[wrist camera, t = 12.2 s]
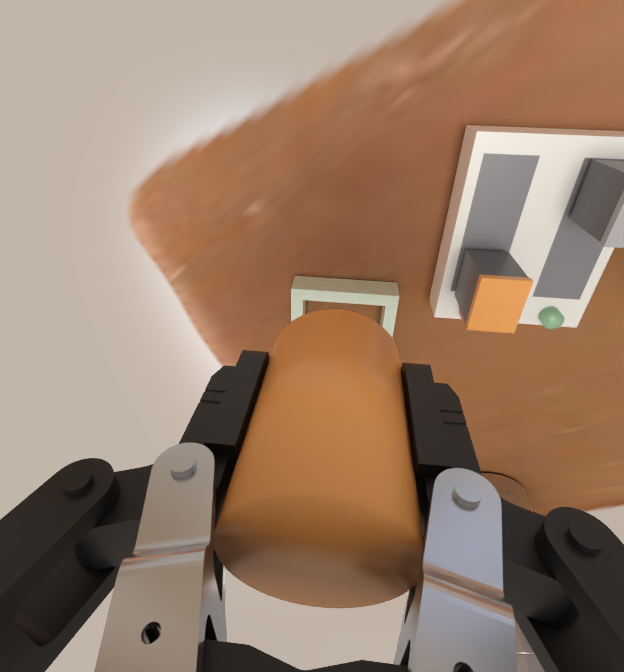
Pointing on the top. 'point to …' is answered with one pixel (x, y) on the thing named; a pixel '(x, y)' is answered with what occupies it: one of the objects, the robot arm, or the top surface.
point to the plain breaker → (602, 203)
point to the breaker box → (526, 216)
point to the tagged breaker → (491, 291)
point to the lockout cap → (326, 471)
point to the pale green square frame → (346, 295)
